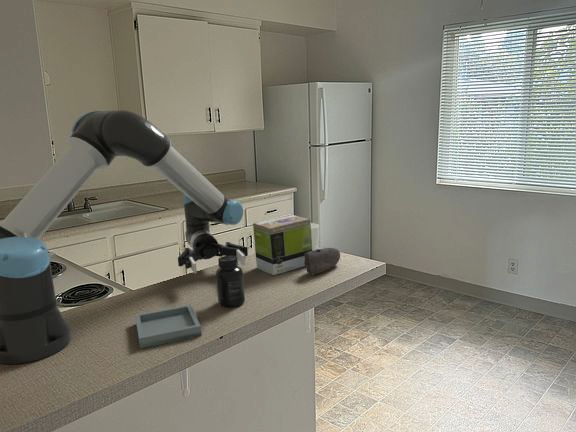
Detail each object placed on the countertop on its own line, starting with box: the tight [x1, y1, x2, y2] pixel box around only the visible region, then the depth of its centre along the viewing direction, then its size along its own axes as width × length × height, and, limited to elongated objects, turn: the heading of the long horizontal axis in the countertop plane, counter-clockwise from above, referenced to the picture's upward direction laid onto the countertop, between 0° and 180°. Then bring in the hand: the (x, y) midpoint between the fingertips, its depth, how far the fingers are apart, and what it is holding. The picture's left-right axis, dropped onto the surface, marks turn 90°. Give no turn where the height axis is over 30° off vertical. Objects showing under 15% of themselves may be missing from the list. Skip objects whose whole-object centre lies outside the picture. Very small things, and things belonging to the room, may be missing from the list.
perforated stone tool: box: [304, 247, 341, 276], centre depth 140 cm, size 15×5×7 cm, turn 132°
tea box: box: [252, 214, 312, 276], centre depth 145 cm, size 15×10×15 cm
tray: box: [134, 304, 203, 349], centre depth 107 cm, size 13×13×2 cm
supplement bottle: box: [215, 256, 246, 309], centre depth 119 cm, size 7×7×12 cm
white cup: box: [310, 222, 320, 251], centre depth 155 cm, size 8×8×10 cm
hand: (219, 264), depth 129 cm, fingers open, 13 cm apart
